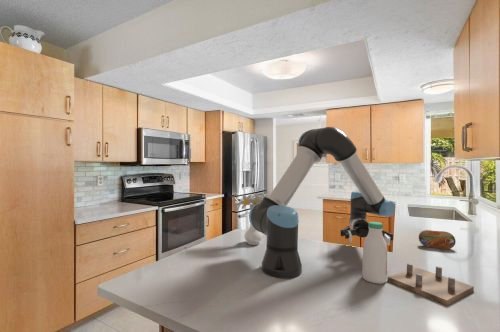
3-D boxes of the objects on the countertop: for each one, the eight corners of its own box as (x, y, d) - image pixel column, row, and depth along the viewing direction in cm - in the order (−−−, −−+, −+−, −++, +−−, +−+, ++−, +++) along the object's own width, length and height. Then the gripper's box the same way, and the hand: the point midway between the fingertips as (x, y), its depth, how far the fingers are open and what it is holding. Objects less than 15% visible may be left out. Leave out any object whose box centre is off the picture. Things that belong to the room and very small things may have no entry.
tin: (419, 246, 132) (419, 229, 132) (417, 244, 135) (418, 228, 135) (455, 250, 127) (456, 233, 127) (453, 248, 130) (453, 231, 130)
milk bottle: (385, 286, 88) (386, 226, 87) (360, 280, 92) (361, 223, 92) (387, 278, 94) (388, 222, 94) (364, 273, 98) (365, 219, 98)
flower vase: (232, 240, 137) (233, 191, 136) (267, 239, 140) (268, 191, 140) (235, 248, 124) (236, 195, 123) (273, 246, 127) (274, 194, 127)
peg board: (387, 280, 92) (387, 266, 92) (415, 270, 101) (415, 257, 101) (446, 305, 77) (447, 288, 76) (473, 291, 86) (474, 275, 86)
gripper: (390, 237, 120) (405, 253, 99) (332, 233, 126) (335, 246, 106) (390, 221, 120) (405, 233, 99) (333, 217, 126) (336, 228, 105)
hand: (369, 240), depth 102 cm, fingers open, 13 cm apart
